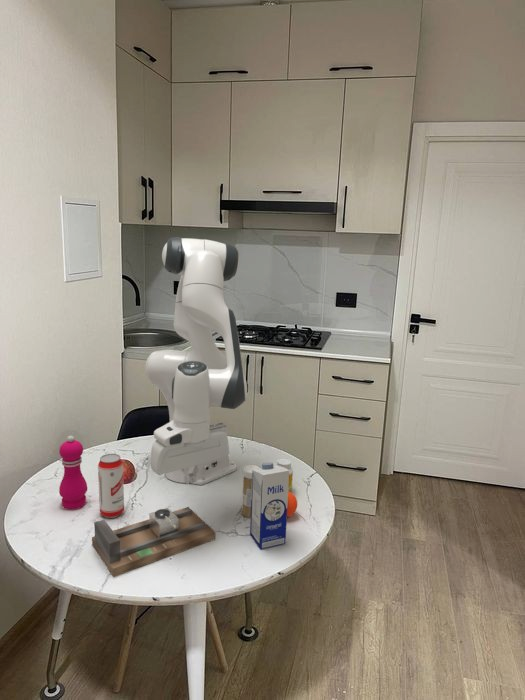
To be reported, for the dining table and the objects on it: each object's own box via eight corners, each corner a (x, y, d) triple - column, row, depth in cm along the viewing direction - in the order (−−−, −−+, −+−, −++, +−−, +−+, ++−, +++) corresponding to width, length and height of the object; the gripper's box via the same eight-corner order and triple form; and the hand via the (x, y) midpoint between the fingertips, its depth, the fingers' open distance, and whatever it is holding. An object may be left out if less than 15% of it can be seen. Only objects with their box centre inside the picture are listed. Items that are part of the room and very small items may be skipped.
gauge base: (188, 513, 142) (188, 489, 140) (215, 539, 131) (215, 513, 129) (92, 544, 127) (91, 518, 125) (113, 576, 116) (112, 548, 114)
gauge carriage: (167, 521, 134) (167, 506, 133) (184, 539, 126) (184, 523, 125) (149, 527, 131) (149, 511, 130) (165, 546, 124) (165, 529, 123)
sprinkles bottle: (242, 509, 145) (243, 464, 142) (258, 509, 145) (260, 464, 142) (241, 518, 141) (242, 472, 138) (258, 518, 141) (260, 472, 137)
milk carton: (259, 549, 127) (262, 474, 123) (249, 534, 133) (251, 462, 129) (286, 543, 130) (290, 469, 125) (274, 529, 136) (278, 457, 131)
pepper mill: (79, 512, 140) (75, 442, 136) (54, 508, 142) (50, 439, 137) (93, 499, 147) (90, 432, 143) (69, 495, 149) (65, 429, 144)
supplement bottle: (275, 496, 152) (276, 466, 150) (271, 487, 158) (273, 457, 155) (293, 495, 153) (295, 465, 151) (289, 486, 159) (290, 457, 156)
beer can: (128, 509, 143) (127, 455, 139) (115, 521, 137) (113, 465, 133) (109, 505, 145) (107, 451, 141) (94, 516, 139) (92, 460, 135)
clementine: (299, 524, 139) (300, 500, 137) (272, 525, 138) (273, 500, 136) (294, 508, 146) (296, 485, 145) (270, 508, 146) (271, 485, 144)
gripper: (221, 418, 137) (220, 467, 139) (147, 432, 125) (147, 486, 128) (234, 425, 132) (233, 476, 134) (158, 441, 120) (159, 497, 123)
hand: (190, 481), depth 131 cm, fingers closed
